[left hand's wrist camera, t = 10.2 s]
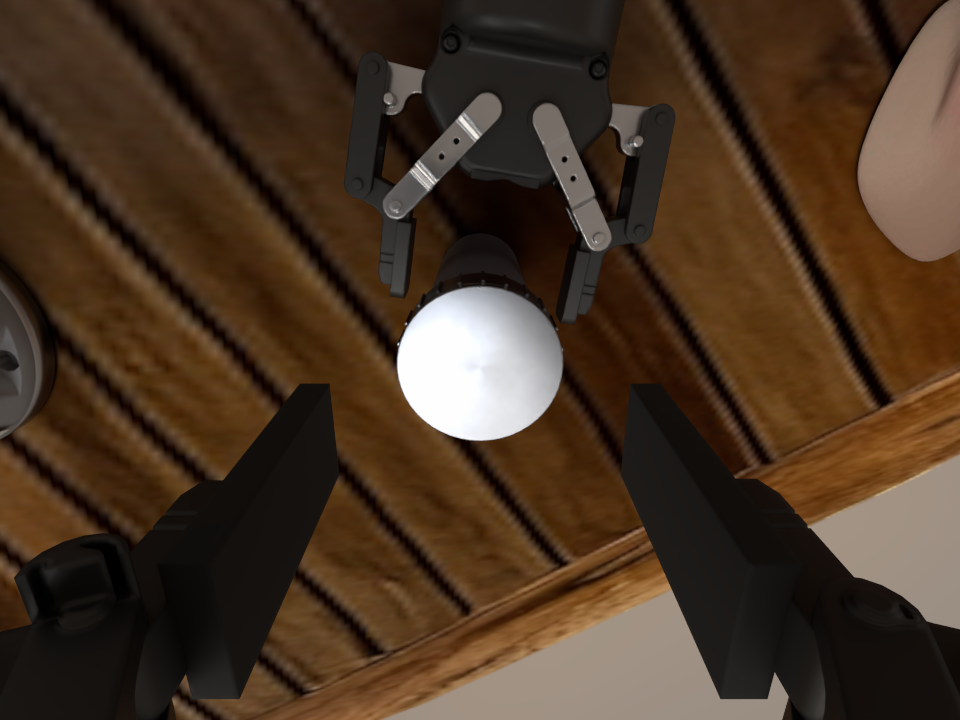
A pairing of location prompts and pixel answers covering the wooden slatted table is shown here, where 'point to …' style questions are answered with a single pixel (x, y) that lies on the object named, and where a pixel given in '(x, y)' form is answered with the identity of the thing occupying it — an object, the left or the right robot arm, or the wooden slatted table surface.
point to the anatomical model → (918, 145)
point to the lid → (479, 357)
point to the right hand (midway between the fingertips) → (483, 307)
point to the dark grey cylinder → (479, 258)
